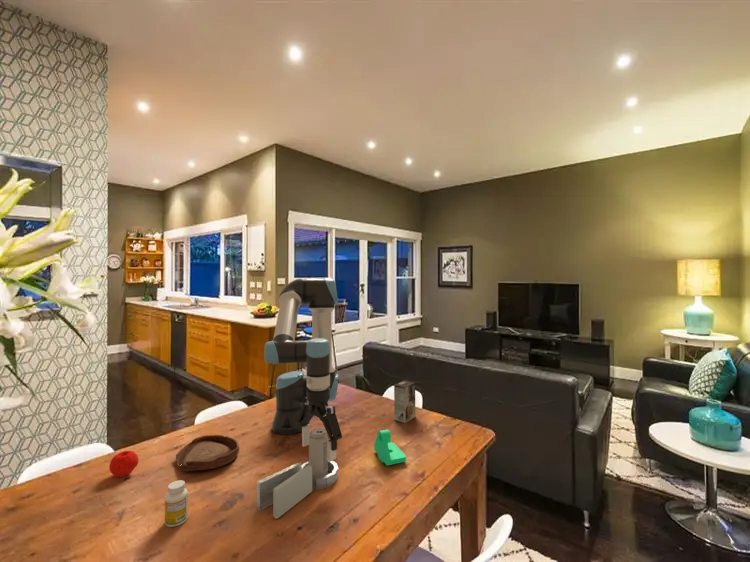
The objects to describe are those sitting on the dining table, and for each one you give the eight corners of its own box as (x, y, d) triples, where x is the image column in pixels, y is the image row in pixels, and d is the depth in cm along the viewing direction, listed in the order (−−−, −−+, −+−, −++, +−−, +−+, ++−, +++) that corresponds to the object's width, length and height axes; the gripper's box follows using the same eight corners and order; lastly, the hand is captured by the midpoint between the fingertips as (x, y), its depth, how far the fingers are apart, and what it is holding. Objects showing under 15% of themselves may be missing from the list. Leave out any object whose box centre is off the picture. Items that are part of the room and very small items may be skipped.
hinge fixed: (247, 499, 102) (247, 474, 102) (321, 463, 122) (321, 442, 122) (270, 519, 94) (269, 491, 94) (345, 477, 114) (345, 454, 114)
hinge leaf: (273, 516, 94) (273, 488, 94) (308, 489, 106) (308, 465, 106) (277, 518, 93) (277, 490, 93) (312, 491, 105) (312, 466, 105)
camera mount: (407, 464, 122) (406, 434, 122) (386, 468, 119) (386, 438, 119) (392, 448, 133) (392, 421, 133) (374, 452, 130) (373, 424, 130)
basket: (166, 459, 126) (166, 445, 126) (222, 440, 141) (222, 427, 141) (190, 483, 111) (190, 468, 111) (250, 459, 125) (250, 445, 125)
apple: (144, 470, 118) (144, 448, 118) (120, 483, 111) (120, 460, 111) (127, 466, 121) (127, 445, 121) (103, 479, 113) (103, 456, 113)
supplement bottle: (171, 514, 96) (170, 479, 96) (191, 513, 96) (191, 477, 96) (160, 528, 91) (160, 490, 91) (182, 526, 91) (182, 489, 91)
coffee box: (404, 413, 167) (403, 379, 167) (415, 416, 163) (415, 382, 163) (393, 420, 159) (393, 384, 159) (405, 423, 156) (405, 387, 156)
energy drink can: (311, 472, 116) (310, 427, 116) (329, 472, 116) (329, 427, 116) (306, 483, 110) (306, 435, 110) (326, 483, 110) (325, 435, 110)
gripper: (286, 381, 119) (287, 443, 120) (334, 399, 102) (335, 471, 103) (304, 377, 125) (305, 435, 125) (353, 393, 108) (353, 461, 108)
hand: (318, 452), depth 114 cm, fingers open, 13 cm apart
